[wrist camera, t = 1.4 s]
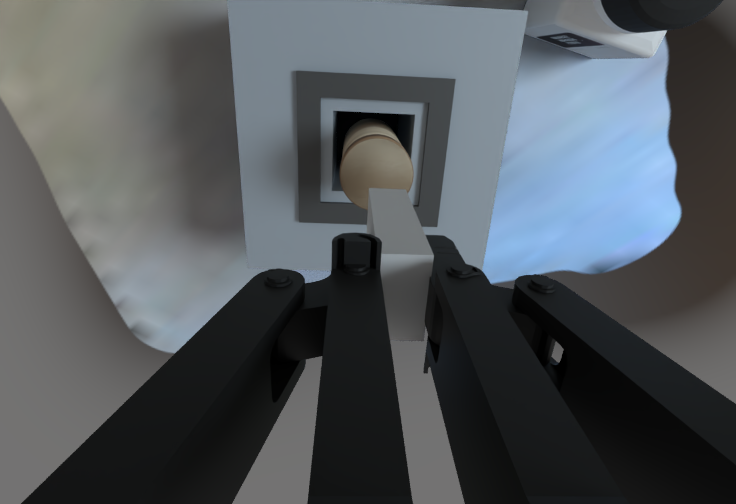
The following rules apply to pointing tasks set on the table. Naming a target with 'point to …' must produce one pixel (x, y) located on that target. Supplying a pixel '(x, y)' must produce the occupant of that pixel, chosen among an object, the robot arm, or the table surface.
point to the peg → (373, 161)
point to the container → (611, 24)
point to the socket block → (368, 94)
